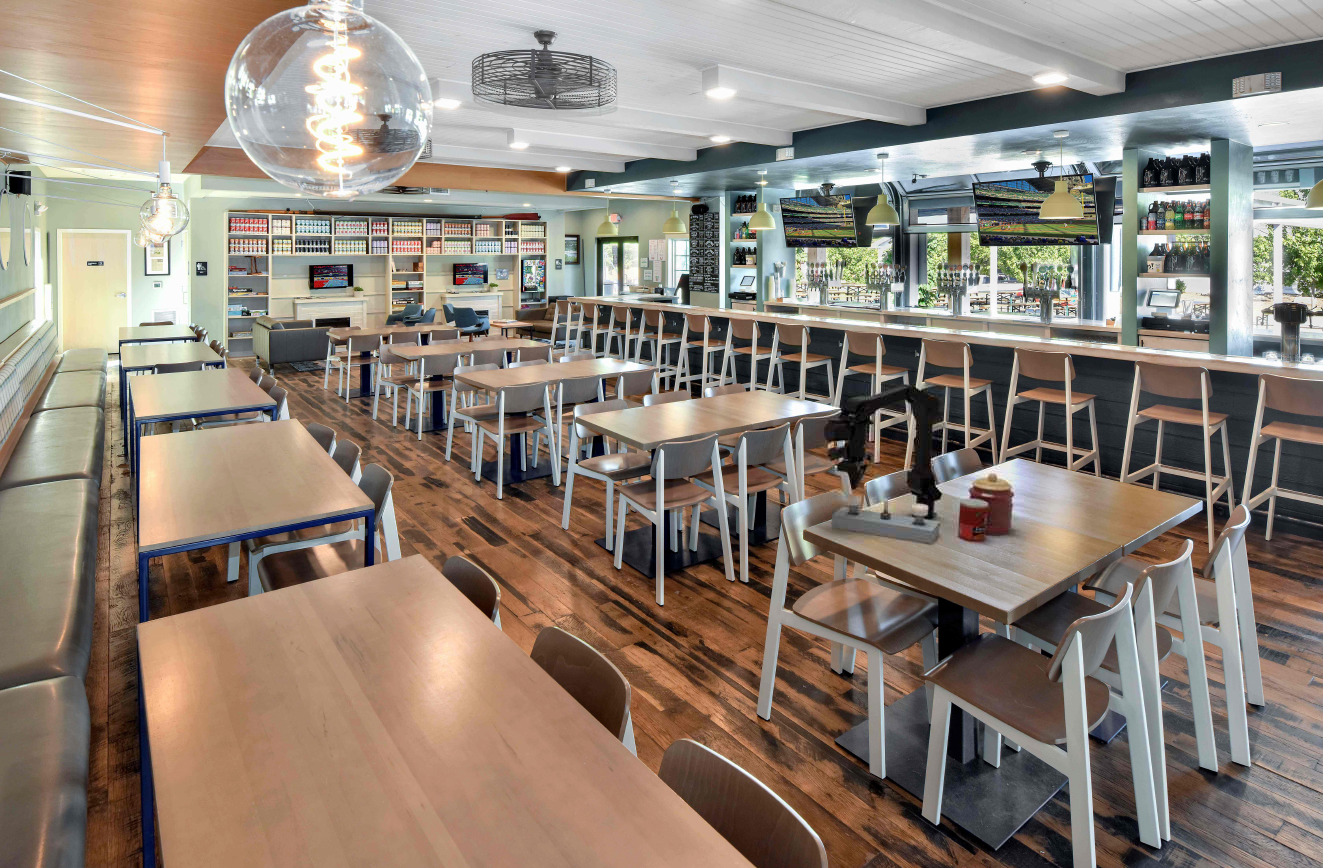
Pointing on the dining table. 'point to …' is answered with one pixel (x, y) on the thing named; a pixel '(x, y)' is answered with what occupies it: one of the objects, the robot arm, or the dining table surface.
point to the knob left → (853, 502)
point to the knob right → (919, 512)
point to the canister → (995, 502)
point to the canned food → (973, 519)
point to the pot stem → (885, 512)
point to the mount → (886, 525)
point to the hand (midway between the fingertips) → (854, 488)
